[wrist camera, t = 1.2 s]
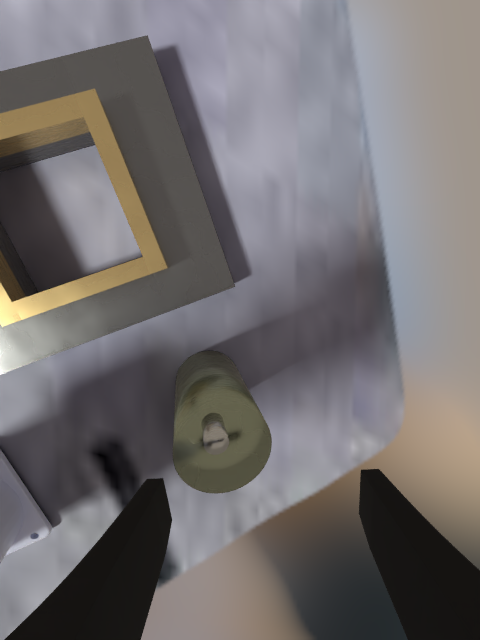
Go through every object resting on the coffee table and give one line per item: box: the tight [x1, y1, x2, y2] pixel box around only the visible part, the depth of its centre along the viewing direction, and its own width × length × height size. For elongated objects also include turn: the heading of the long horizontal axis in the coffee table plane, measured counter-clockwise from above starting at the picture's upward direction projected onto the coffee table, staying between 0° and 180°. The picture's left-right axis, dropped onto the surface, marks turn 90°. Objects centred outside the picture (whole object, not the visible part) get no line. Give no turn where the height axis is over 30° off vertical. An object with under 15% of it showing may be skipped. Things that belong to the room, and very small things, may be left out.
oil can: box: [173, 351, 272, 493], centre depth 16 cm, size 5×5×10 cm
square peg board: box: [0, 35, 235, 375], centre depth 15 cm, size 16×14×4 cm
